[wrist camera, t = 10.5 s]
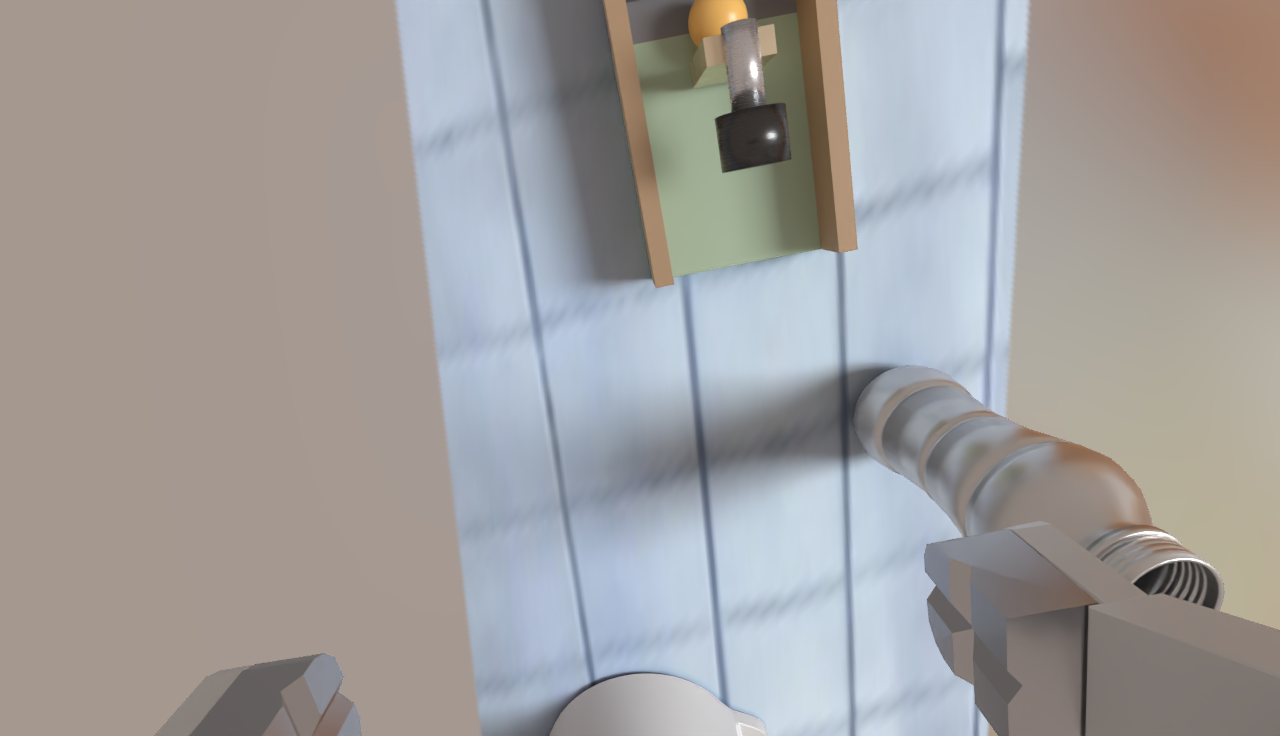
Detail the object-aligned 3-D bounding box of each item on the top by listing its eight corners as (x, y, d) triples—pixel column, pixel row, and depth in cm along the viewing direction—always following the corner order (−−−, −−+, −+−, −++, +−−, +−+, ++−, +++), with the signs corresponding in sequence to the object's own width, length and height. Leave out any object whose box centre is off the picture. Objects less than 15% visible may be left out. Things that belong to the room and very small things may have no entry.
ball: (756, 8, 28) (742, -33, 29) (694, 20, 28) (682, -21, 29) (751, 62, 31) (738, 22, 32) (694, 73, 31) (683, 33, 32)
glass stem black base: (763, 166, 33) (800, 157, 26) (706, 177, 33) (728, 171, 26) (748, 48, 31) (784, 5, 24) (688, 60, 31) (707, 20, 25)
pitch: (831, 244, 36) (857, 249, 32) (651, 278, 36) (655, 288, 32) (802, -59, 31) (828, -96, 28) (598, -19, 32) (595, -49, 28)
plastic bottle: (823, 398, 38) (1030, 595, 19) (914, 335, 37) (1228, 476, 18) (874, 470, 40) (1114, 721, 20) (962, 412, 39) (1300, 617, 20)
